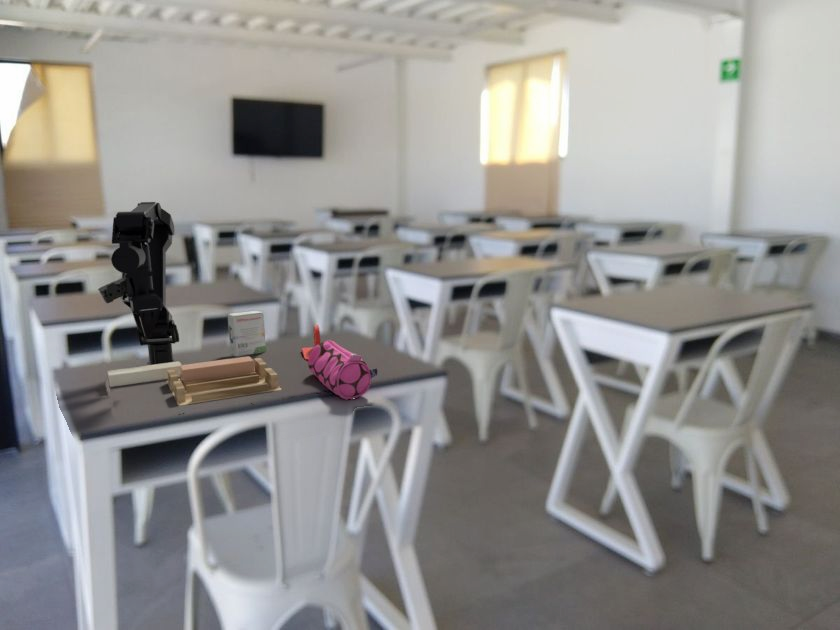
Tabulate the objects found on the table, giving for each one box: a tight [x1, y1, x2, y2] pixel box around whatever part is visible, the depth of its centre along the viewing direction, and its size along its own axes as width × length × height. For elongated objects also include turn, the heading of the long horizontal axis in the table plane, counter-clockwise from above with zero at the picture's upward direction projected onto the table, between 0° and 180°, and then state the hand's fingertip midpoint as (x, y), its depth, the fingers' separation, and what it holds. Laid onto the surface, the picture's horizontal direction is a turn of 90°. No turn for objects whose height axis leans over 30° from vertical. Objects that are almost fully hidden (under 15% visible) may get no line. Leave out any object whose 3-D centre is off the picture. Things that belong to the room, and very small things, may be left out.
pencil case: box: [307, 339, 378, 401], centre depth 159 cm, size 21×10×10 cm, turn 29°
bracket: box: [301, 324, 321, 363], centre depth 186 cm, size 12×4×8 cm, turn 13°
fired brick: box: [180, 355, 255, 387], centre depth 164 cm, size 4×16×4 cm, turn 116°
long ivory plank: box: [107, 361, 182, 391], centre depth 165 cm, size 4×16×4 cm, turn 117°
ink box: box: [227, 310, 267, 358], centre depth 187 cm, size 9×5×12 cm, turn 123°
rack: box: [165, 357, 283, 407], centre depth 159 cm, size 20×22×4 cm
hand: (144, 333), depth 163 cm, fingers open, 9 cm apart
